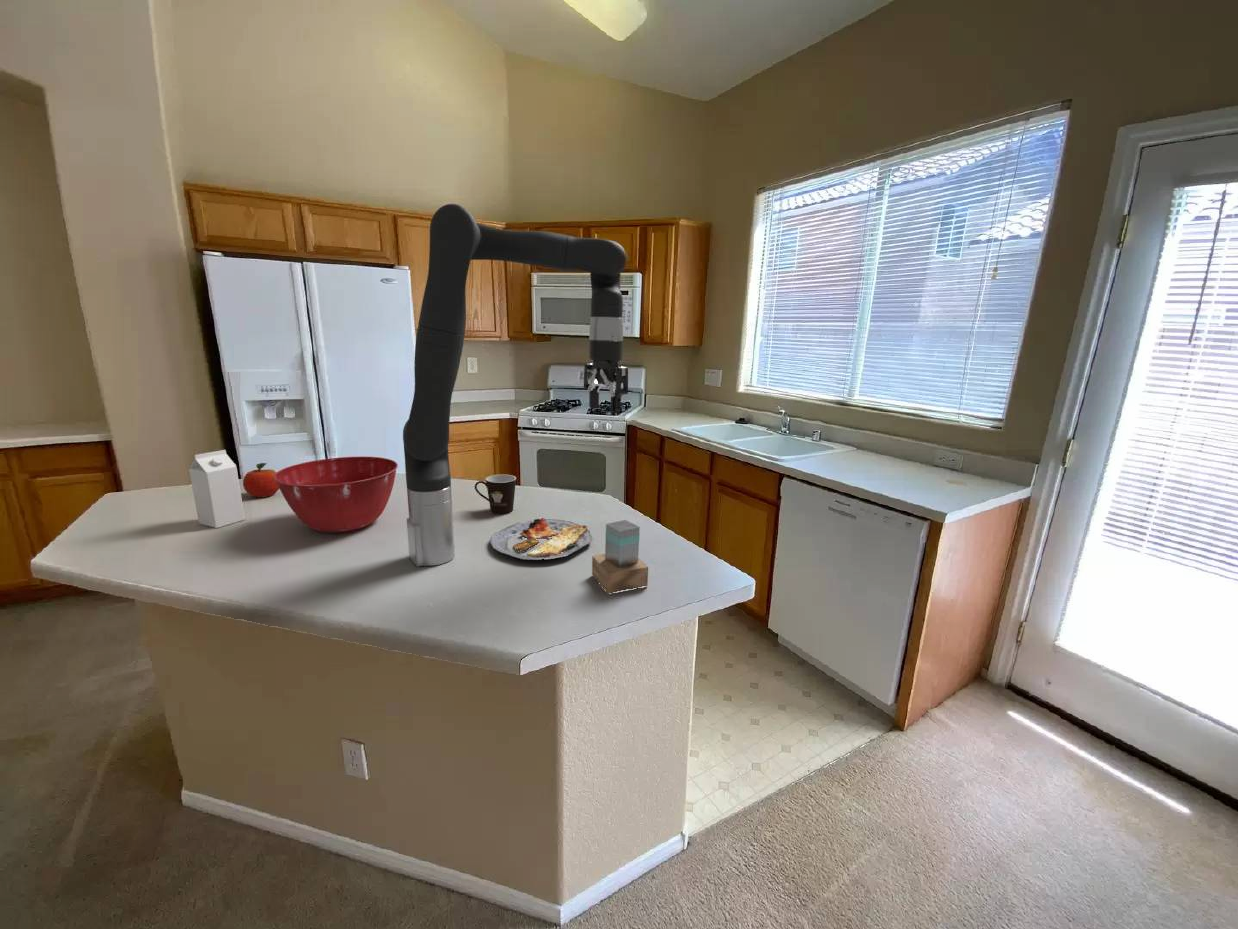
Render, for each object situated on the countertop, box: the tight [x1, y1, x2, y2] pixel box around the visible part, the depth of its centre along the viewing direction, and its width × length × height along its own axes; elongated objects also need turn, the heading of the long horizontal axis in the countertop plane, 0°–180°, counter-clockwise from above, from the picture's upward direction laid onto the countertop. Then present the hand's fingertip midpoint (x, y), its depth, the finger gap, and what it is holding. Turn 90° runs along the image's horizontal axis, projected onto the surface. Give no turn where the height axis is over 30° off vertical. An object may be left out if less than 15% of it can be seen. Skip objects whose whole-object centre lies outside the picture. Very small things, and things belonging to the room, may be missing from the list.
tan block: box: [591, 553, 649, 595], centre depth 107 cm, size 9×9×5 cm
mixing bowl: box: [273, 456, 399, 534], centre depth 133 cm, size 28×28×15 cm
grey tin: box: [604, 519, 641, 568], centre depth 106 cm, size 5×5×8 cm
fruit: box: [242, 462, 280, 498], centre depth 154 cm, size 10×10×10 cm
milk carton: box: [188, 449, 246, 529], centre depth 131 cm, size 7×7×19 cm
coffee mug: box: [474, 474, 517, 516], centre depth 148 cm, size 12×9×10 cm
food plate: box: [489, 517, 593, 561], centre depth 126 cm, size 25×23×4 cm
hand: (604, 410), depth 117 cm, fingers open, 8 cm apart
